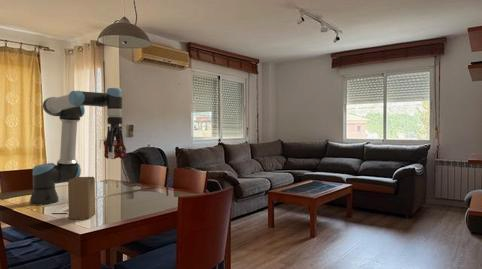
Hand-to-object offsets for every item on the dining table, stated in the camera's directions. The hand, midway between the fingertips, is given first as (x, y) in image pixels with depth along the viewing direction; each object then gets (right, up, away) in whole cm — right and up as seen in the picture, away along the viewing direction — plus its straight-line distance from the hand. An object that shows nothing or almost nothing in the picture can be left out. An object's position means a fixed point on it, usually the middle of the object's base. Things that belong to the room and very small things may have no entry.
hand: (115, 157), depth 183 cm
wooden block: (-12, -30, -12) cm, 34 cm away
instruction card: (-26, -29, +4) cm, 39 cm away
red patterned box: (0, -1, 0) cm, 1 cm away
